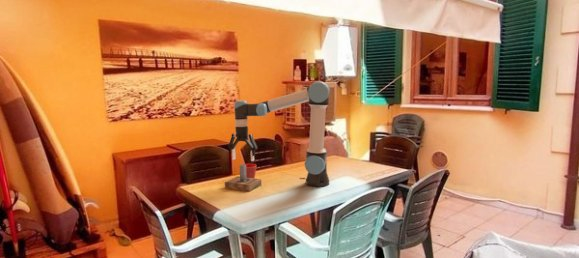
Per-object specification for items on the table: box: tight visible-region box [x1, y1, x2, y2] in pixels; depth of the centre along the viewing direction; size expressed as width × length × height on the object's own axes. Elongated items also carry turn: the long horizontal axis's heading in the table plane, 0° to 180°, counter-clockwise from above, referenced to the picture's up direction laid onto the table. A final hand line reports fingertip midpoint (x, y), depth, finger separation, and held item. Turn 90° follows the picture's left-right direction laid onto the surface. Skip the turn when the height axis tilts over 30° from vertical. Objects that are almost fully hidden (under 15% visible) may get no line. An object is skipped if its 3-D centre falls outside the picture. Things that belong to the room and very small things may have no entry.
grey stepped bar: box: [238, 163, 249, 183], centre depth 215 cm, size 5×5×14 cm
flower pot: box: [244, 163, 257, 179], centre depth 232 cm, size 11×11×10 cm
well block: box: [224, 175, 262, 192], centre depth 215 cm, size 18×14×4 cm
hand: (243, 160), depth 213 cm, fingers open, 13 cm apart
